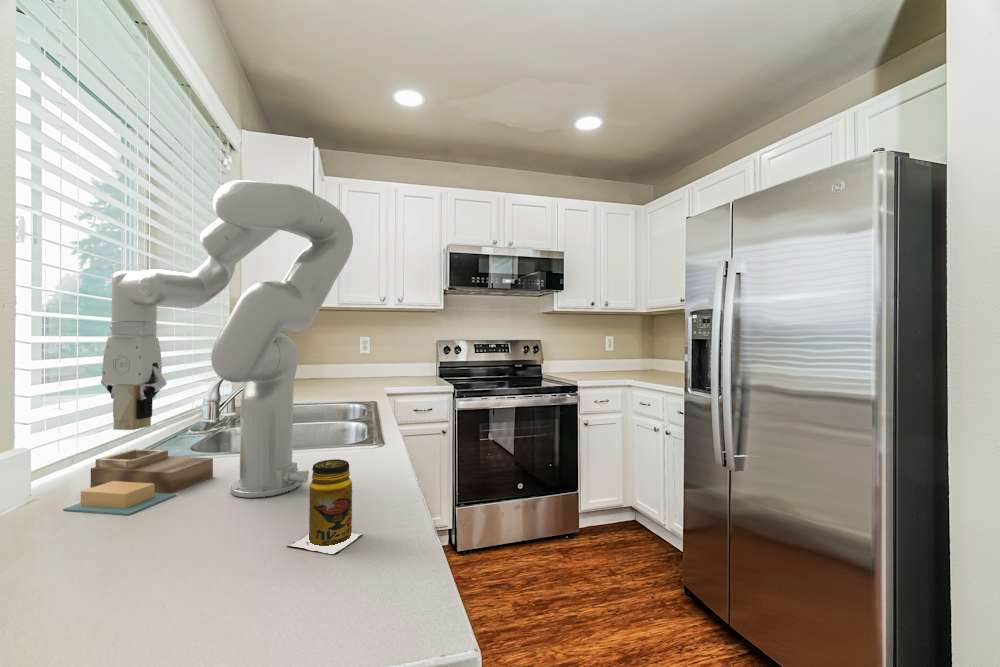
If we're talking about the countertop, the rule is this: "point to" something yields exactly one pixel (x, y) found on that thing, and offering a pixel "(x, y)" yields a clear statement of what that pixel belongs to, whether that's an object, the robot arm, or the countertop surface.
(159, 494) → the mat
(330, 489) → the condiment
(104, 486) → the tan rectangular block
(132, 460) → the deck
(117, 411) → the box
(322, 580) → the countertop surface
